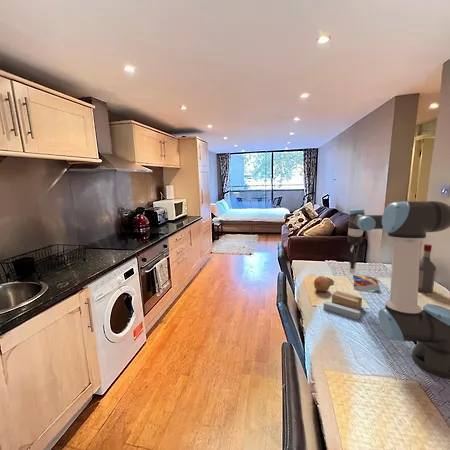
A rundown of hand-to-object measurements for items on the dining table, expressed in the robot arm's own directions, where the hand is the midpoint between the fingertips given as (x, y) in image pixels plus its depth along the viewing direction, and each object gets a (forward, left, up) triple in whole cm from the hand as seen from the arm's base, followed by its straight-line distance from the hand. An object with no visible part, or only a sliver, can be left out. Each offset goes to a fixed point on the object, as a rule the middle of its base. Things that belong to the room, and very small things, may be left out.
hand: (352, 273), depth 148 cm
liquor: (+39, -33, -17) cm, 54 cm away
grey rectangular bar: (-21, 0, -16) cm, 26 cm away
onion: (0, +18, -17) cm, 24 cm away
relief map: (+28, -3, -17) cm, 33 cm away
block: (-10, 0, -17) cm, 20 cm away
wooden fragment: (+13, +20, -17) cm, 29 cm away
